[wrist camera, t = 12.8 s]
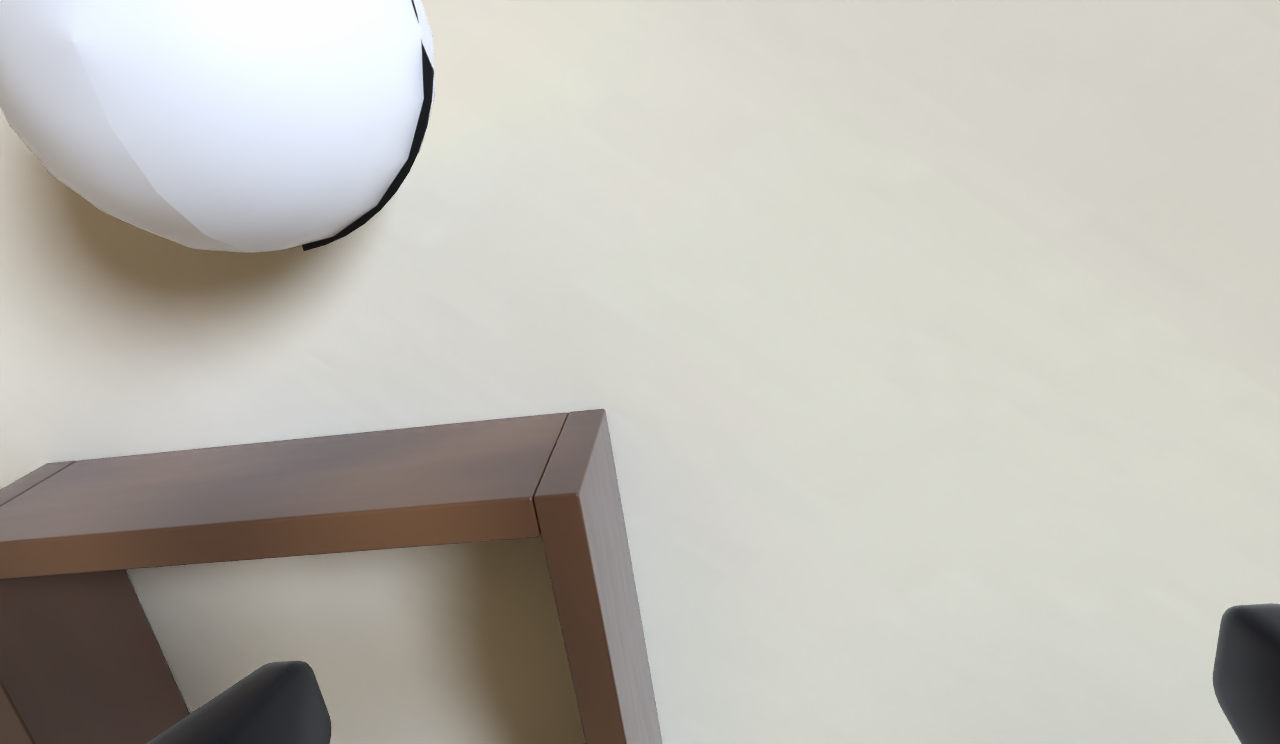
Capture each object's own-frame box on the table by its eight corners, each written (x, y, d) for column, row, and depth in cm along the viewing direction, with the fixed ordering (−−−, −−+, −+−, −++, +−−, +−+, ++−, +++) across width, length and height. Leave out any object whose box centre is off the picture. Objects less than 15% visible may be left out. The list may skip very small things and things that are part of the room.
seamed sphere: (330, 281, 19) (122, 388, 12) (106, 27, 17) (-282, -11, 11) (641, 17, 16) (595, -34, 10) (412, -316, 15) (154, -670, 8)
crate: (605, 407, 20) (578, 493, 16) (679, 842, 25) (674, 993, 21) (46, 462, 22) (-111, 552, 18) (226, 853, 27) (139, 992, 23)
